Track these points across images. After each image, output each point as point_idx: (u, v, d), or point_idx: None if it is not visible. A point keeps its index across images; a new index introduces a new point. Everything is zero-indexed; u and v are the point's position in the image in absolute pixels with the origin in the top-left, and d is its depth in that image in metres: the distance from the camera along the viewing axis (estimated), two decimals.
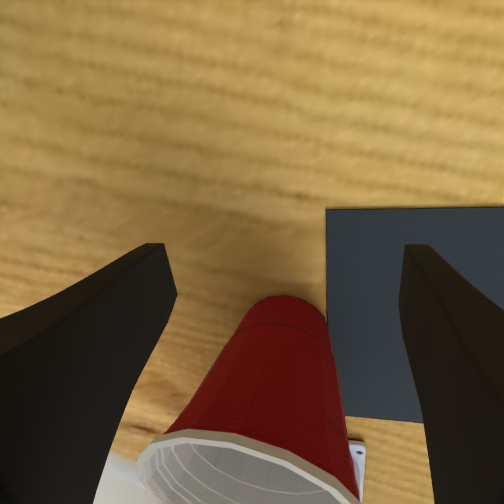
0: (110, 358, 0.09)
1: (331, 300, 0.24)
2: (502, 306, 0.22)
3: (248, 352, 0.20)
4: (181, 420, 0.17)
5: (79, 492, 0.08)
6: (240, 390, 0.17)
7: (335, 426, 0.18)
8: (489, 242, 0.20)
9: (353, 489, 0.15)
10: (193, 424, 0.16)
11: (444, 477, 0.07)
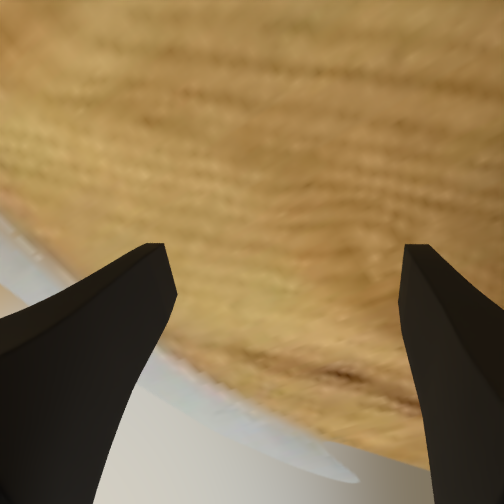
0: (110, 358, 0.09)
1: None
2: None
3: None
4: None
5: (79, 492, 0.08)
6: None
7: None
8: None
9: None
10: None
11: (444, 477, 0.07)
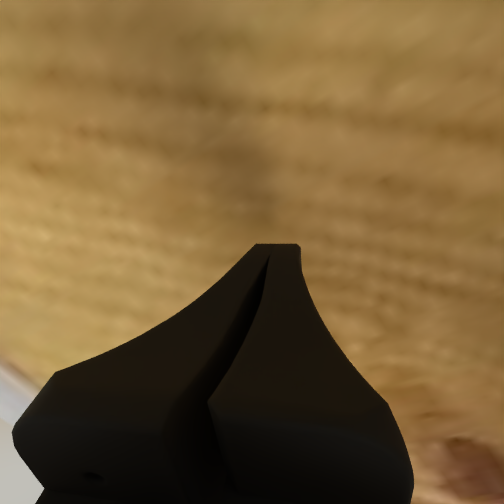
0: None
1: None
2: None
3: None
4: None
5: None
6: None
7: None
8: None
9: None
10: None
11: None
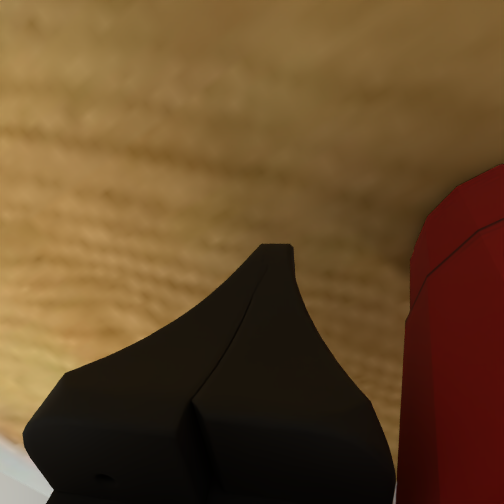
0: None
1: None
2: None
3: None
4: None
5: None
6: None
7: None
8: None
9: None
10: None
11: None
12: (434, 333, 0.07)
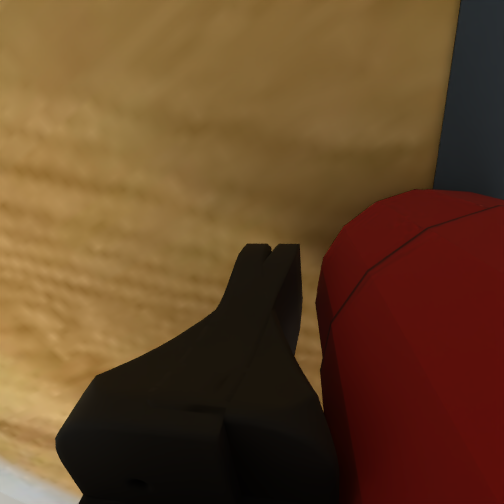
0: None
1: (443, 187, 0.11)
2: None
3: None
4: None
5: None
6: None
7: None
8: None
9: None
10: None
11: None
12: (346, 387, 0.06)
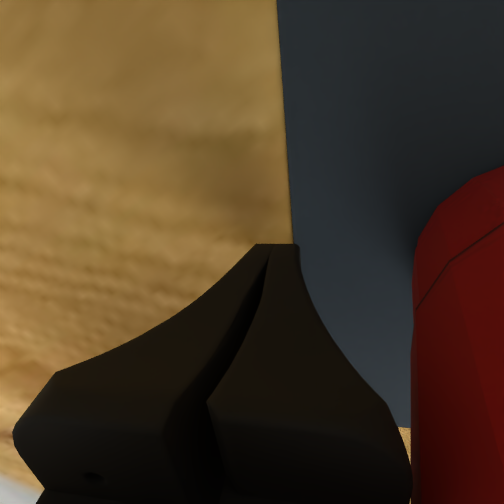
0: None
1: (298, 171, 0.11)
2: None
3: None
4: None
5: None
6: None
7: None
8: None
9: None
10: None
11: None
12: (420, 375, 0.07)
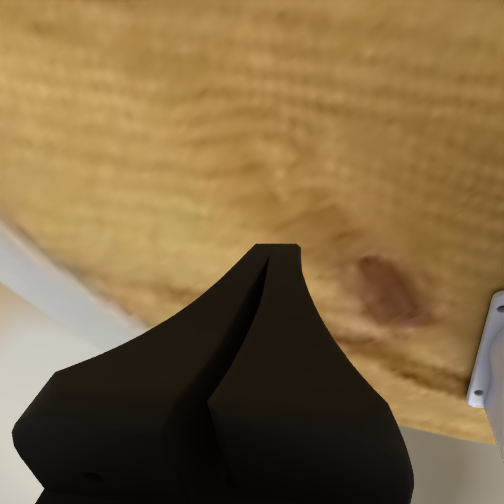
0: None
1: None
2: None
3: None
4: None
5: None
6: None
7: None
8: None
9: None
10: None
11: None
12: None
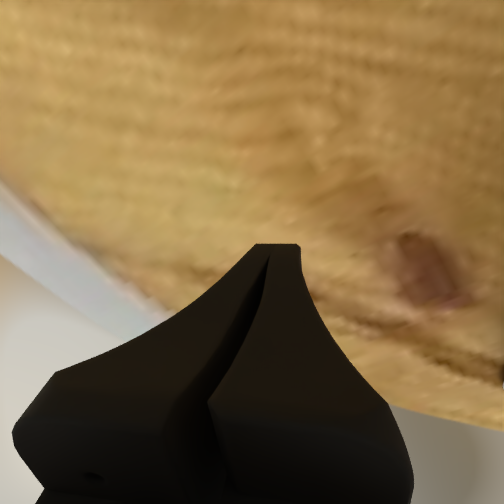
0: None
1: None
2: None
3: None
4: None
5: None
6: None
7: None
8: None
9: None
10: None
11: None
12: None
